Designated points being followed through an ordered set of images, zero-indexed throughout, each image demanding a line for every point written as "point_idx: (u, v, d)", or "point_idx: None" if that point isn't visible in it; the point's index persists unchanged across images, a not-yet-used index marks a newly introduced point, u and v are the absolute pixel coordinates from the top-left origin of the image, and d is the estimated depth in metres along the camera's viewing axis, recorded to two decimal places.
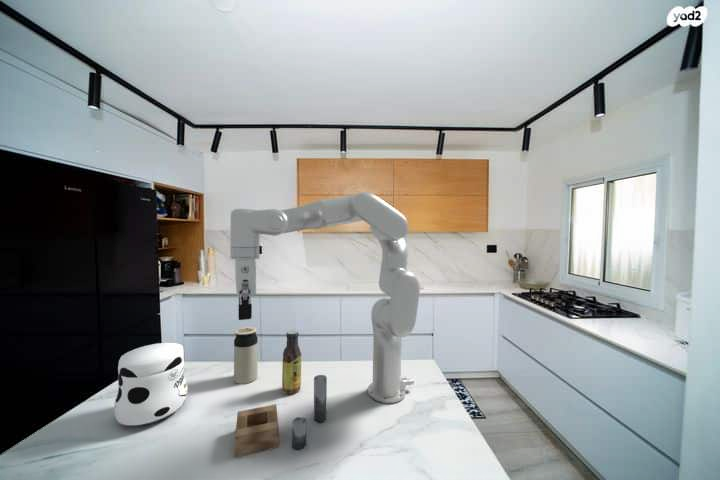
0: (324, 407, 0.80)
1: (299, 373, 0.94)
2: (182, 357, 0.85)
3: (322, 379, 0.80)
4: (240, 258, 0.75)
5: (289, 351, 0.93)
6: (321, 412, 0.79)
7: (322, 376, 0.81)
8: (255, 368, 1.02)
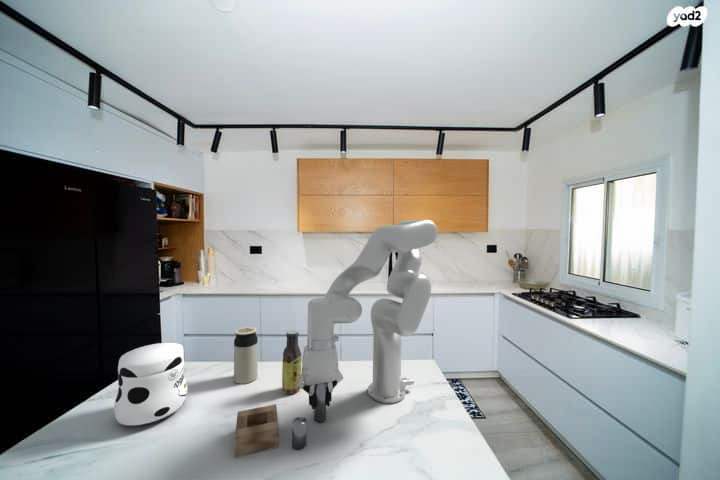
0: (324, 407, 0.80)
1: (299, 373, 0.94)
2: (182, 357, 0.85)
3: None
4: (333, 345, 0.80)
5: (289, 351, 0.93)
6: (321, 412, 0.79)
7: None
8: (255, 368, 1.02)
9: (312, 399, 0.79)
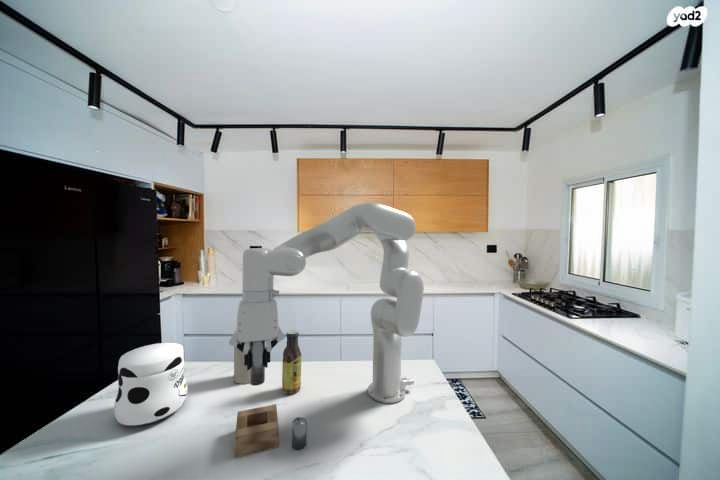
0: (261, 368, 0.72)
1: (299, 373, 0.94)
2: (182, 357, 0.85)
3: None
4: (272, 300, 0.72)
5: (289, 351, 0.93)
6: (257, 373, 0.71)
7: None
8: None
9: (247, 358, 0.71)
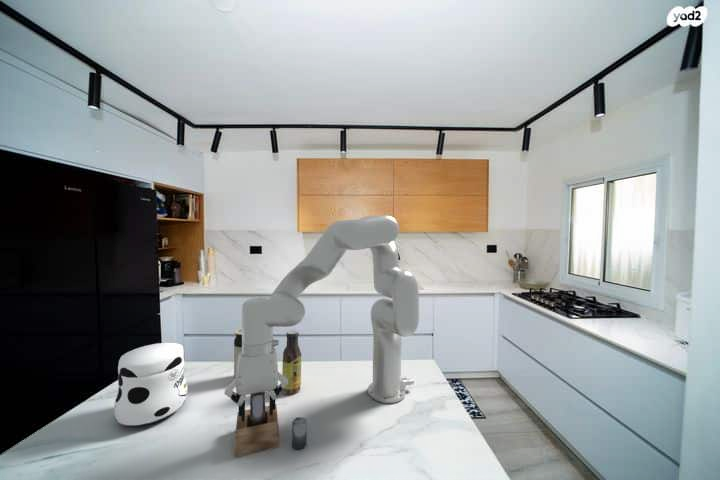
0: None
1: (299, 373, 0.94)
2: (182, 357, 0.85)
3: (259, 394, 0.72)
4: (272, 351, 0.73)
5: (289, 351, 0.93)
6: None
7: None
8: None
9: (241, 410, 0.71)
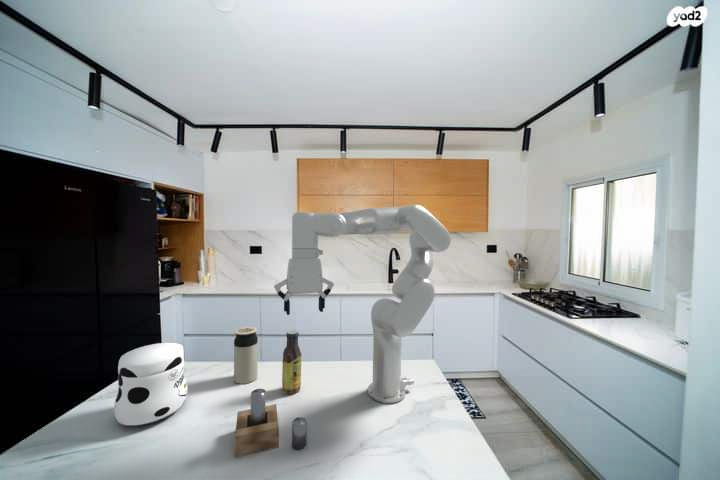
0: None
1: (299, 373, 0.94)
2: (182, 357, 0.85)
3: (259, 394, 0.72)
4: (317, 258, 0.82)
5: (289, 351, 0.93)
6: None
7: (261, 390, 0.74)
8: (255, 368, 1.02)
9: (287, 305, 0.80)
